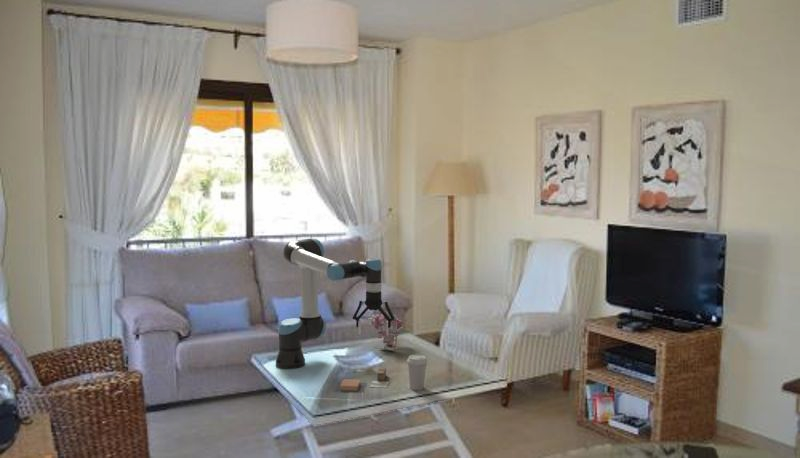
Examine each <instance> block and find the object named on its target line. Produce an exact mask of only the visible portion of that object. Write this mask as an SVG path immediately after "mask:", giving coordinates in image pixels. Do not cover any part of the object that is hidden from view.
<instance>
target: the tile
mask: <svg viewBox="0 0 800 458" xmlns="http://www.w3.org/2000/svg"><path fill="white" fill-rule="evenodd" d="M341 382H342V383H341V385H340V390H348V391H357V390H358V388H359V386H360V383H361V380H360V379H354V378H353V379H350V378H349V379H346V378H344V379H342V381H341Z"/></svg>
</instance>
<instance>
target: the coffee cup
mask: <svg viewBox="0 0 800 458" xmlns="http://www.w3.org/2000/svg"><path fill="white" fill-rule="evenodd" d="M406 362H407V365H408V366H407V367H408V378H409V379H408V380H409V390H411V389H412V390H411V391H423V390H424V388H425V377H426V367H427V363H428V359H427V358H426V356H425V355H423V354H422V355H421V354H412V355H409V356H408V358H407V360H406ZM422 389H423V390H422Z"/></svg>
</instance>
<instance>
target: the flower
mask: <svg viewBox="0 0 800 458" xmlns="http://www.w3.org/2000/svg"><path fill="white" fill-rule="evenodd" d="M383 310H384V309H383ZM384 311H385V312H386V314H387V315H388V316H389V317H390V315H389V313H388V311H387V310H384ZM392 314H393V316H394V318H395V319H394V320H393V321H391V327H390V328H389V330H390V331H389V334H388V335H386V322H387V321H388V320H387V319H386V318H385V317H384V316H383V314H382V313H381V314H377V315H375V314H373V313H372V314H370V317H368V318H367V319H368V321H369V323H368V324H369V325H371V326H373V327H374V329H375V333H376V334H377V338H378V339H382V343H383V344H384V345H385V344H386V345H387V346H382V347H380V348H379V351H381V350H382V349H387V351H392V352H394V353H397V352H396V348H397V343H398V337H399V335H398V332H402V331H404V332H407V333H409V331H408V330H407V328H405V326H403V325H404V321H402V319H399V318H398V315H397V314H395V313H392ZM390 318H391V317H390ZM383 326H384V328H385V330H384V328H383ZM391 332H394V333H391ZM394 342H395V343H394ZM390 345H391V346H392V348H391V347H389V346H390Z"/></svg>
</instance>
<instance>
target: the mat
mask: <svg viewBox="0 0 800 458" xmlns="http://www.w3.org/2000/svg"><path fill="white" fill-rule="evenodd" d="M341 383H342V381H338V382H337V383H336V386H335V387H334V389H333V392H342V393H343V392H344V393H346V392H347V393H364V392H365V391H366V387H367V386H368V385H367V384H368V382H360V386H359V388H358V390H357V391H348V390H340V385H341Z"/></svg>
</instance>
